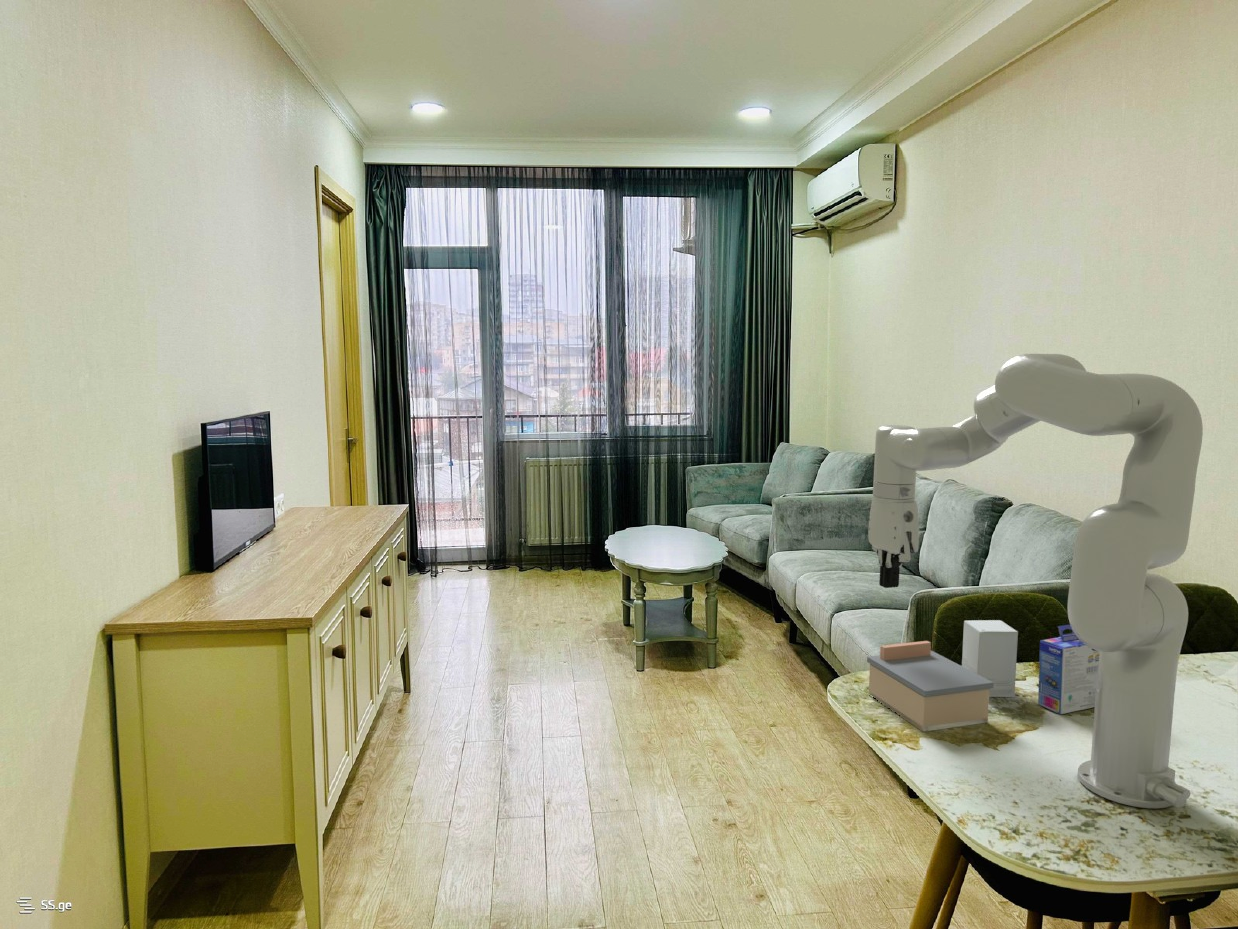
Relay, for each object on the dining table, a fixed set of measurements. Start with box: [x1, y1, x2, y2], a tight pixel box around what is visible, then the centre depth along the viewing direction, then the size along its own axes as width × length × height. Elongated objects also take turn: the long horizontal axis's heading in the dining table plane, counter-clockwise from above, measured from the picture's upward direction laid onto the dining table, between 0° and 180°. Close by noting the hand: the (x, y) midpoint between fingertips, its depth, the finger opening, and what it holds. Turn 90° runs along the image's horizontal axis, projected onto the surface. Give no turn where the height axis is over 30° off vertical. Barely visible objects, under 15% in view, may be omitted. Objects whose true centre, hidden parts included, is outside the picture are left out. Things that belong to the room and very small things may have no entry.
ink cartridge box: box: [1037, 624, 1101, 715], centre depth 148 cm, size 10×6×14 cm, turn 112°
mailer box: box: [868, 663, 990, 732], centre depth 147 cm, size 16×13×6 cm
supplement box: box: [961, 619, 1019, 698], centre depth 155 cm, size 7×7×13 cm
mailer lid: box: [866, 640, 994, 697], centre depth 147 cm, size 17×14×3 cm
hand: (888, 586), depth 157 cm, fingers closed
